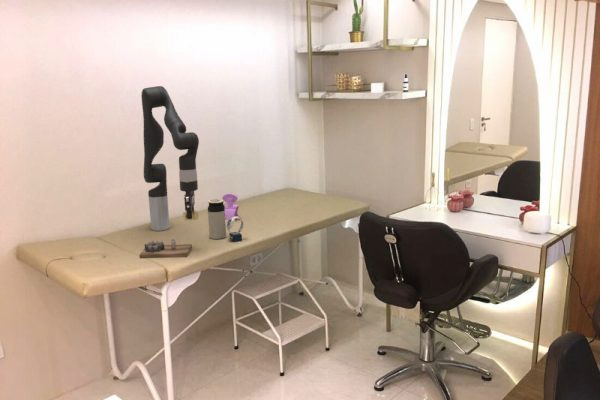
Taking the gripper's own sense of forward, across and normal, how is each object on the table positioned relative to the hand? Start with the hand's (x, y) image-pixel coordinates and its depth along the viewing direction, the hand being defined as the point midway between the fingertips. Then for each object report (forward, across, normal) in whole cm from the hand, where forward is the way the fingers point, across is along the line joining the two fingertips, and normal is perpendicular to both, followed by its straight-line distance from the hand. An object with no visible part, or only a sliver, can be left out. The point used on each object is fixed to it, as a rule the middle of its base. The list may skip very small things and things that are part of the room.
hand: (190, 216), depth 233 cm
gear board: (+15, +2, -11) cm, 19 cm away
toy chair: (+16, -52, +14) cm, 56 cm away
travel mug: (+16, -19, +10) cm, 27 cm away
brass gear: (+1, 0, 0) cm, 1 cm away
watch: (+16, -13, +18) cm, 27 cm away
